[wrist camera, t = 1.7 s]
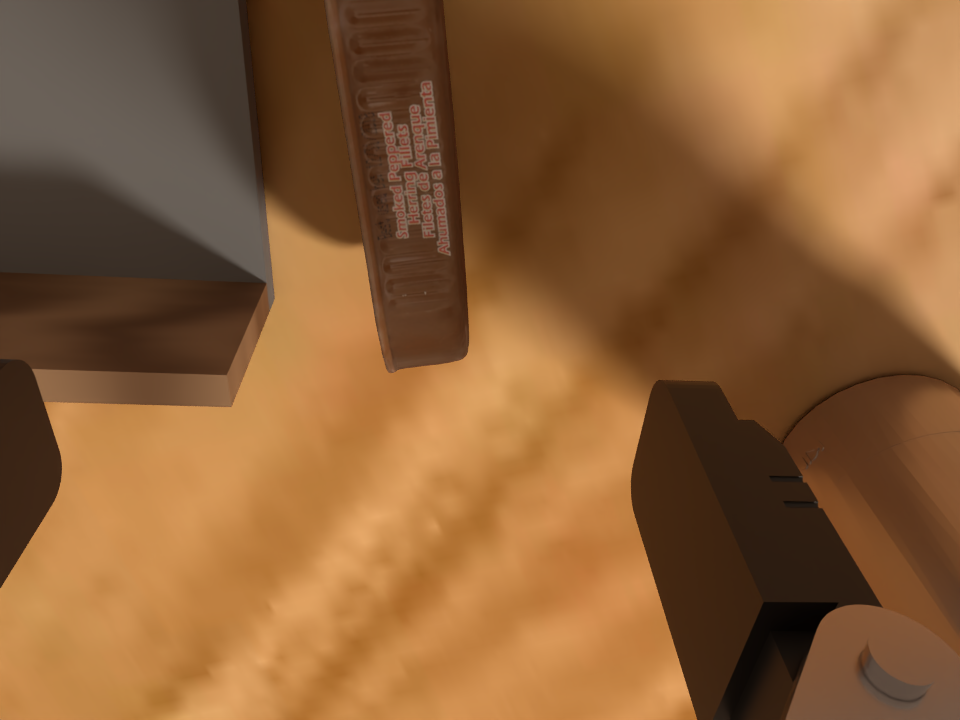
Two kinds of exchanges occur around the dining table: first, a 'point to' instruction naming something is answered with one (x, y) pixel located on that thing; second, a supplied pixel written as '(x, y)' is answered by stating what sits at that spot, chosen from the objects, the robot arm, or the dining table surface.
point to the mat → (130, 141)
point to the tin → (404, 173)
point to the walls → (132, 337)
